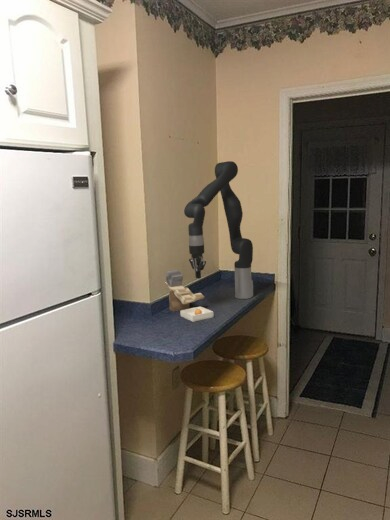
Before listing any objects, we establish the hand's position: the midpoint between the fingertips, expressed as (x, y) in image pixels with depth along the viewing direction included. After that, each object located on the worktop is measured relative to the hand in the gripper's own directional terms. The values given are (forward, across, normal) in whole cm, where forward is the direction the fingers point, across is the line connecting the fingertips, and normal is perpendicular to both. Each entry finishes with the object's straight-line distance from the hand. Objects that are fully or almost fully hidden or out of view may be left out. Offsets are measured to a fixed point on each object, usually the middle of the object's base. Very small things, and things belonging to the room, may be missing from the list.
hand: (198, 278), depth 216 cm
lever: (+7, +7, +4) cm, 11 cm away
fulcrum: (+16, +8, +7) cm, 20 cm away
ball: (+16, -10, +7) cm, 20 cm away
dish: (+16, -9, +7) cm, 20 cm away
